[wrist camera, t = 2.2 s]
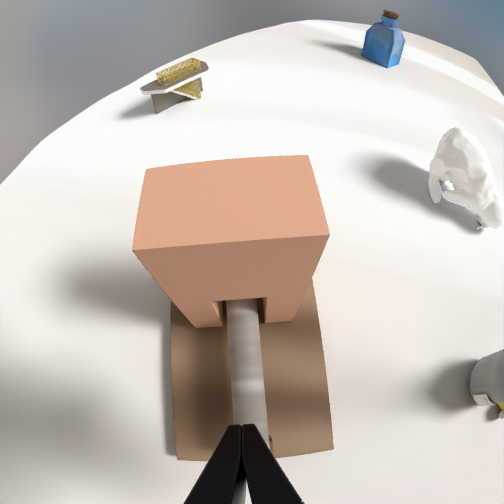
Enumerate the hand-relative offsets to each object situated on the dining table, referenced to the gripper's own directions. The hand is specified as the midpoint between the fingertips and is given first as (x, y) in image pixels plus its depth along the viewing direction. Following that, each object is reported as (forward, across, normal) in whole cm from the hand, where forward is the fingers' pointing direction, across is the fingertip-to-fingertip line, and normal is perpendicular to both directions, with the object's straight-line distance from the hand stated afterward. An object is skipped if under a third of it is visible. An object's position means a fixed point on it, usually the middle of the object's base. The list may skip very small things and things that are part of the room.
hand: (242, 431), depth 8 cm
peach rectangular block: (+13, 0, +2) cm, 14 cm away
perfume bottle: (+48, -31, -30) cm, 65 cm away
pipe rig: (+14, 0, +4) cm, 14 cm away
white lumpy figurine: (+21, -26, -3) cm, 33 cm away
